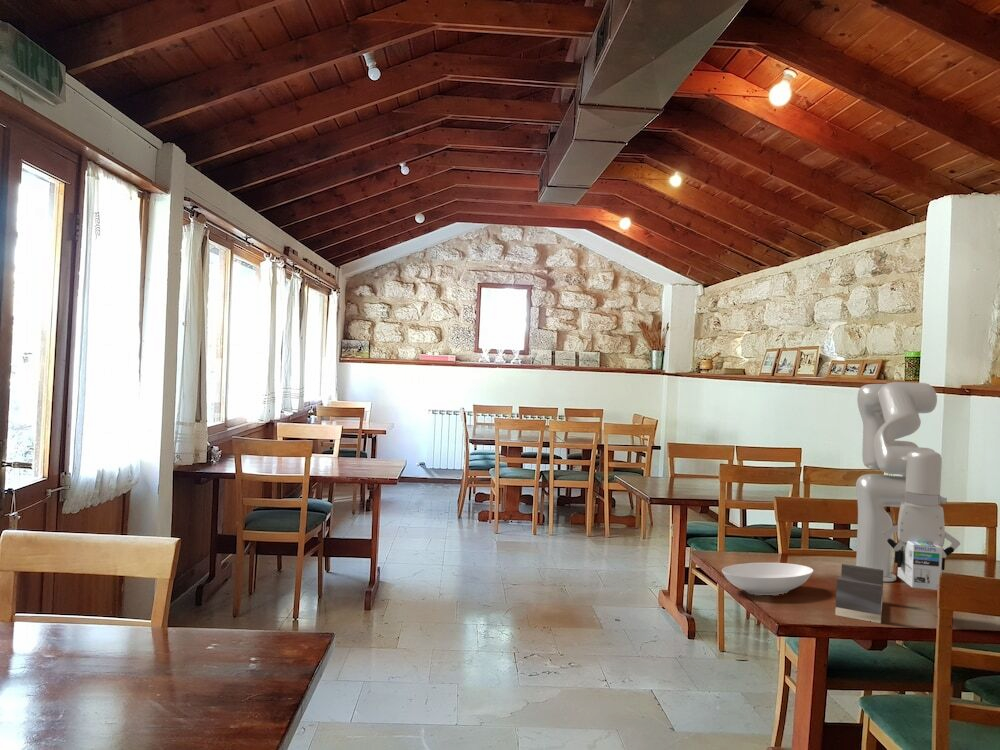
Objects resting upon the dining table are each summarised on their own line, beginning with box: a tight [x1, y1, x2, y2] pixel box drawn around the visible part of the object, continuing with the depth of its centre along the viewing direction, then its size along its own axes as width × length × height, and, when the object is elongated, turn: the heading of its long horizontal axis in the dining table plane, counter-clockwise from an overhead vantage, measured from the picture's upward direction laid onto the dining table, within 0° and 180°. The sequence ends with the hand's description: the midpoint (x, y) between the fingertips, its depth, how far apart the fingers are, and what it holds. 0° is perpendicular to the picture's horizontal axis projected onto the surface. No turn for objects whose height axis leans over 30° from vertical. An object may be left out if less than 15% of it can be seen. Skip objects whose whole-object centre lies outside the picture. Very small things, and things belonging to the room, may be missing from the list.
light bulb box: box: [896, 541, 944, 591], centre depth 176 cm, size 11×7×11 cm, turn 168°
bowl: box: [721, 562, 814, 596], centre depth 194 cm, size 30×15×6 cm, turn 114°
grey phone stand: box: [834, 563, 884, 624], centre depth 181 cm, size 20×10×9 cm, turn 150°
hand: (918, 568), depth 176 cm, fingers closed on light bulb box, 8 cm apart
